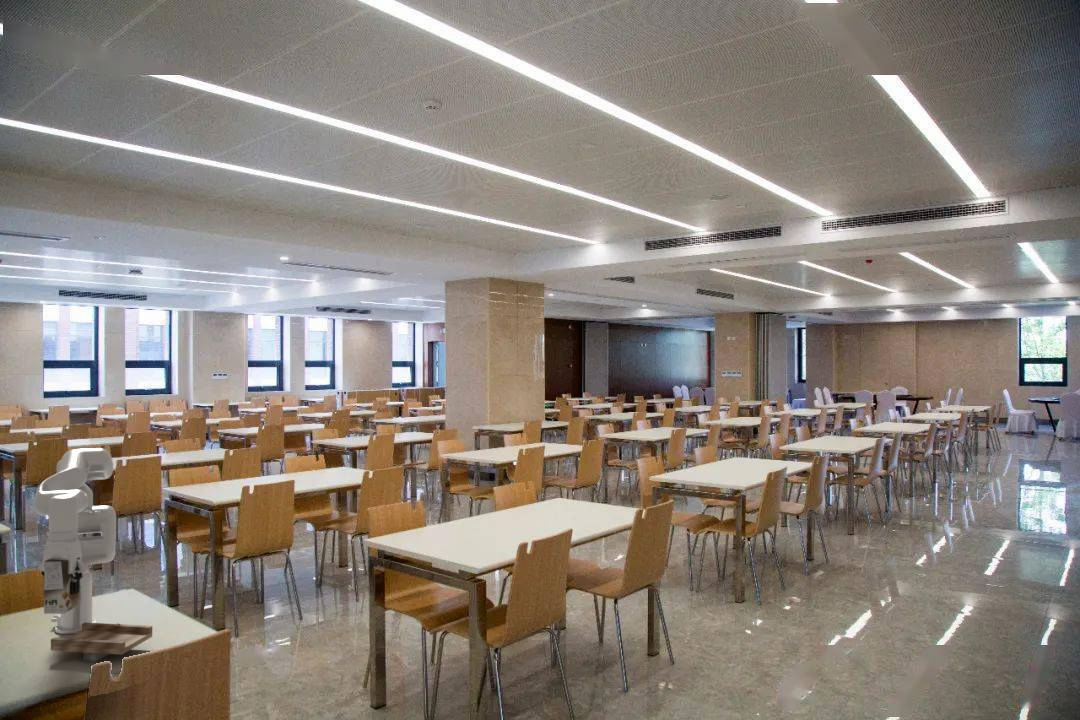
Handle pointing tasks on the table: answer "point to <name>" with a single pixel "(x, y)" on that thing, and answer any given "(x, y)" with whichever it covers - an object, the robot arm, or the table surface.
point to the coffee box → (58, 588)
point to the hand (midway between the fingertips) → (63, 592)
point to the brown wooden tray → (103, 640)
